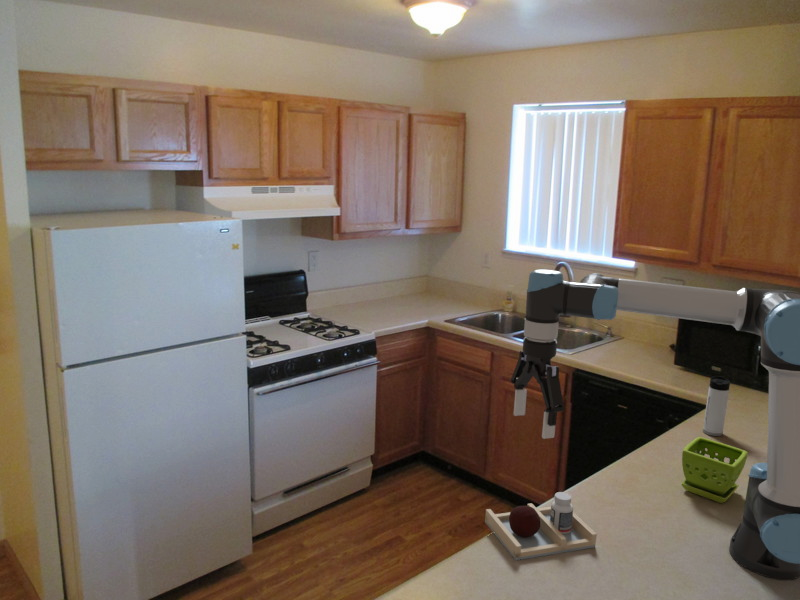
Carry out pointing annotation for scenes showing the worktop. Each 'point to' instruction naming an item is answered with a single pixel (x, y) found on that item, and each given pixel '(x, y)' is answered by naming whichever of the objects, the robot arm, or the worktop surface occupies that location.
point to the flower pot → (712, 468)
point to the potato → (524, 521)
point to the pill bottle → (562, 512)
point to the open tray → (541, 535)
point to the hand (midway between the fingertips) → (532, 425)
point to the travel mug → (716, 406)
